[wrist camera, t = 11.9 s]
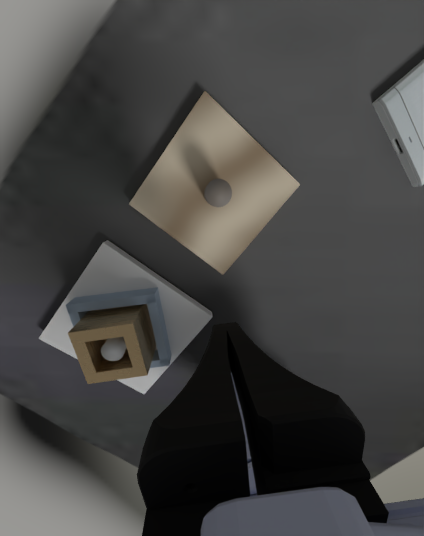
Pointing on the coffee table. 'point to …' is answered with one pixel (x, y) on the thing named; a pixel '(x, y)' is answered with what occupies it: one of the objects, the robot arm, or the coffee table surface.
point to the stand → (213, 186)
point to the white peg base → (127, 294)
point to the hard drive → (406, 121)
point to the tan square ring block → (112, 326)
